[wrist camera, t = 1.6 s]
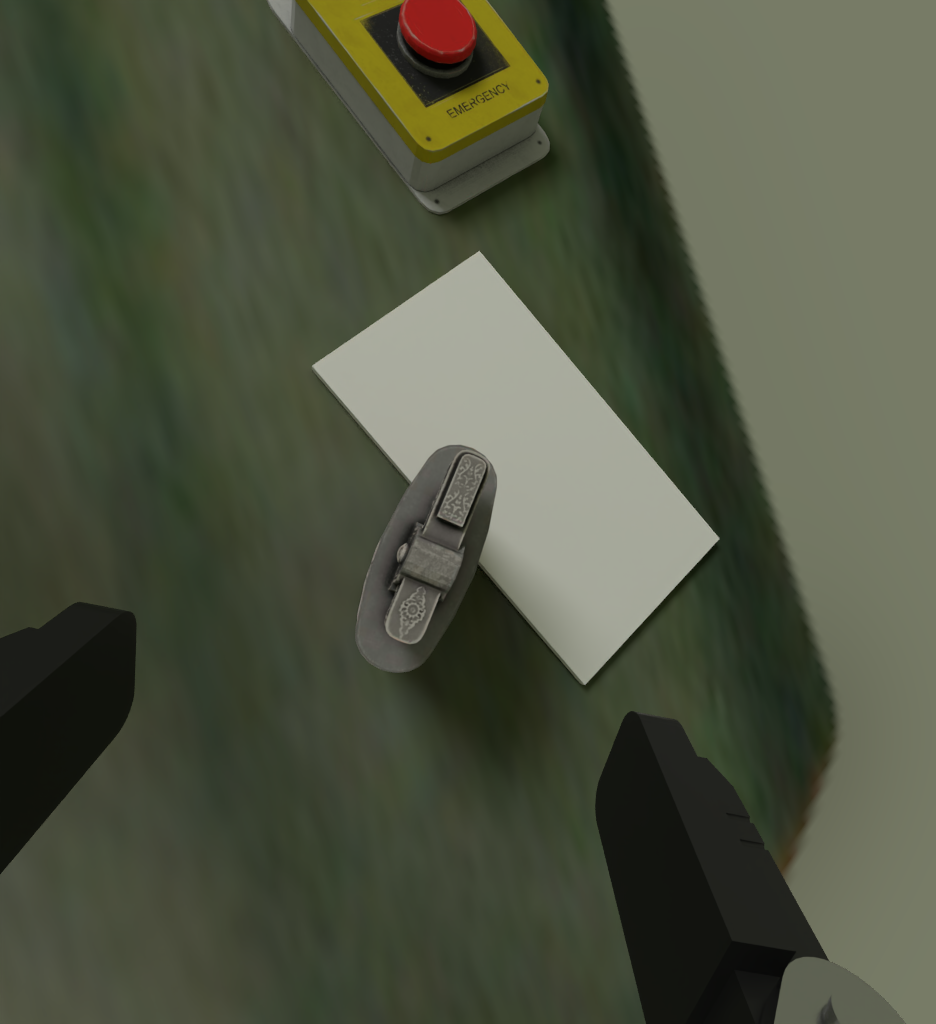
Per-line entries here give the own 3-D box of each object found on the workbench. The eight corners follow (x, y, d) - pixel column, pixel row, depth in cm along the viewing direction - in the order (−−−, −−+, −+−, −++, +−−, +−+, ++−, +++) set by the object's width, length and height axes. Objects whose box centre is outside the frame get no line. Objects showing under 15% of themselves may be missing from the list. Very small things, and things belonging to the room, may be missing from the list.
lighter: (410, 657, 26) (440, 705, 16) (340, 629, 25) (327, 662, 16) (475, 497, 27) (538, 452, 17) (410, 469, 27) (438, 406, 17)
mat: (580, 683, 28) (584, 685, 27) (312, 370, 27) (311, 366, 26) (713, 539, 31) (719, 538, 30) (476, 256, 30) (479, 250, 30)
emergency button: (449, 165, 26) (248, -96, 26) (431, 227, 30) (259, 3, 30) (586, 91, 29) (406, -145, 29) (553, 157, 33) (396, -49, 33)
